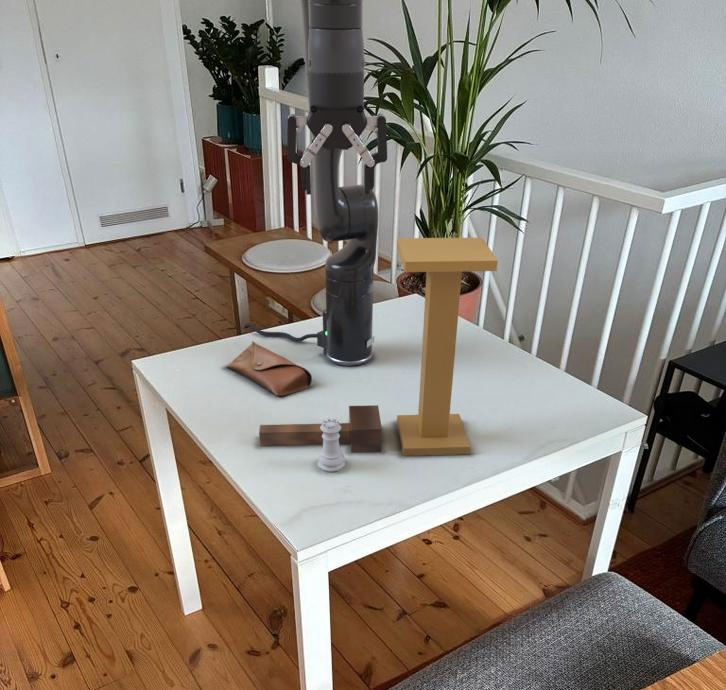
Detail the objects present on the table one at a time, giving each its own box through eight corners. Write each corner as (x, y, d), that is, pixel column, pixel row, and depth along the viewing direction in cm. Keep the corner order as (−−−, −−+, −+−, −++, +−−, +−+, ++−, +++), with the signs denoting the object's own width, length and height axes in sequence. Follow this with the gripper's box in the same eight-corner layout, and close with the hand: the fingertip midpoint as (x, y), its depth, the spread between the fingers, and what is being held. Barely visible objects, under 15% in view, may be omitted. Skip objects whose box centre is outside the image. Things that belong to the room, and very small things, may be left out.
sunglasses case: (221, 366, 146) (232, 334, 144) (247, 373, 151) (258, 342, 150) (278, 397, 135) (291, 363, 134) (304, 404, 141) (316, 371, 139)
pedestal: (464, 420, 130) (482, 237, 111) (475, 454, 121) (497, 260, 102) (390, 422, 129) (397, 238, 111) (397, 456, 120) (405, 261, 102)
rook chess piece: (317, 458, 119) (315, 415, 115) (344, 457, 119) (344, 414, 115) (318, 473, 115) (316, 429, 111) (346, 472, 116) (346, 428, 111)
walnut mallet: (377, 427, 127) (378, 405, 125) (381, 452, 121) (381, 428, 118) (261, 430, 126) (260, 407, 124) (259, 455, 120) (257, 431, 117)
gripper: (386, 64, 102) (383, 187, 112) (283, 64, 102) (289, 187, 111) (391, 70, 96) (387, 199, 106) (282, 70, 96) (288, 200, 105)
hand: (337, 193), depth 108 cm, fingers open, 8 cm apart
